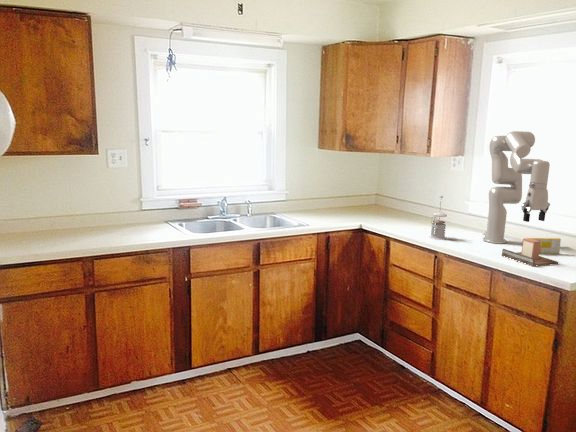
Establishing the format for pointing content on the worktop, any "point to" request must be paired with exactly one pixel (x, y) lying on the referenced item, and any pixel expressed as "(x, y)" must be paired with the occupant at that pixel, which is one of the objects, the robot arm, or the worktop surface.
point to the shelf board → (537, 261)
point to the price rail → (518, 256)
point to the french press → (438, 226)
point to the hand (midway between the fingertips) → (533, 220)
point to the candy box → (549, 245)
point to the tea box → (531, 248)
